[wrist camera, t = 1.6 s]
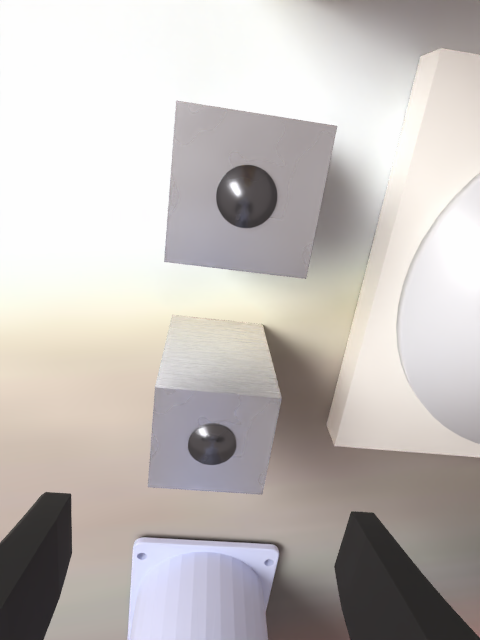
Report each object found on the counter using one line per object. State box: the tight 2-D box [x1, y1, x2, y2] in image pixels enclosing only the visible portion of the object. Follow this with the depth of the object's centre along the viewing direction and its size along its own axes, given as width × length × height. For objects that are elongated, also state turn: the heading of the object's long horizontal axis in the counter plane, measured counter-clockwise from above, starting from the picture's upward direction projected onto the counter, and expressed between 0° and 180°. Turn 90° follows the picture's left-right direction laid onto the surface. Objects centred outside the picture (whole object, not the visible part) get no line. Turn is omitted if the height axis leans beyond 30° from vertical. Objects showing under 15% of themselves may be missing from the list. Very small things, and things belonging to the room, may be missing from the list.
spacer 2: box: [148, 315, 282, 494], centre depth 17 cm, size 4×4×6 cm
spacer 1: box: [164, 101, 337, 279], centre depth 14 cm, size 4×4×6 cm
